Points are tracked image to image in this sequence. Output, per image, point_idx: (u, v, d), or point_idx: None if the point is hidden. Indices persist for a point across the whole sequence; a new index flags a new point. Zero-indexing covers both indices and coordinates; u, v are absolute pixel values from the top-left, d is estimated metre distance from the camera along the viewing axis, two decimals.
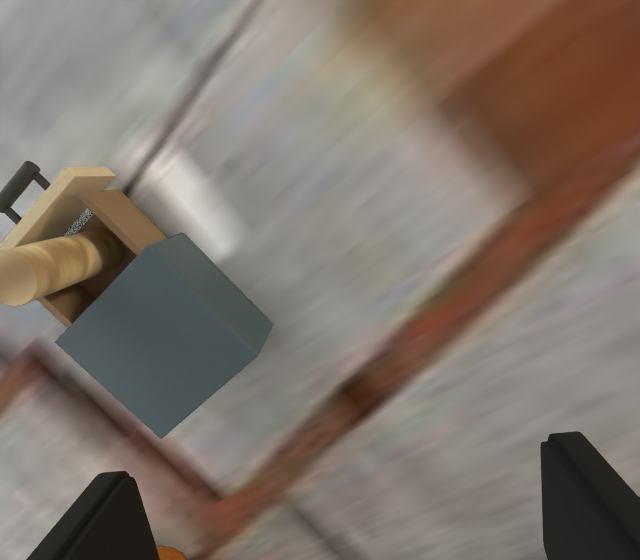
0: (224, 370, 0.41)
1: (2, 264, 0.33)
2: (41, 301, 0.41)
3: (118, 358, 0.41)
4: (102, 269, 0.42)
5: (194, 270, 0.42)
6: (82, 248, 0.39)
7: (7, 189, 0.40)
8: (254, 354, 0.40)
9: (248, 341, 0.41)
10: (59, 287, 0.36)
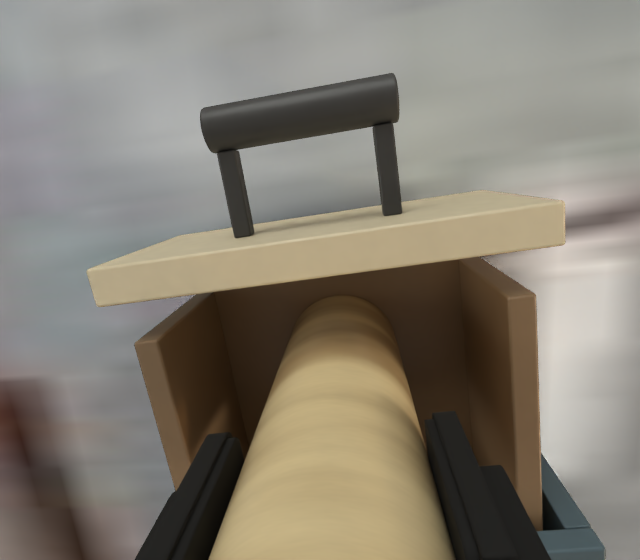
0: None
1: None
2: (170, 449, 0.14)
3: None
4: None
5: None
6: None
7: (284, 110, 0.12)
8: None
9: None
10: None
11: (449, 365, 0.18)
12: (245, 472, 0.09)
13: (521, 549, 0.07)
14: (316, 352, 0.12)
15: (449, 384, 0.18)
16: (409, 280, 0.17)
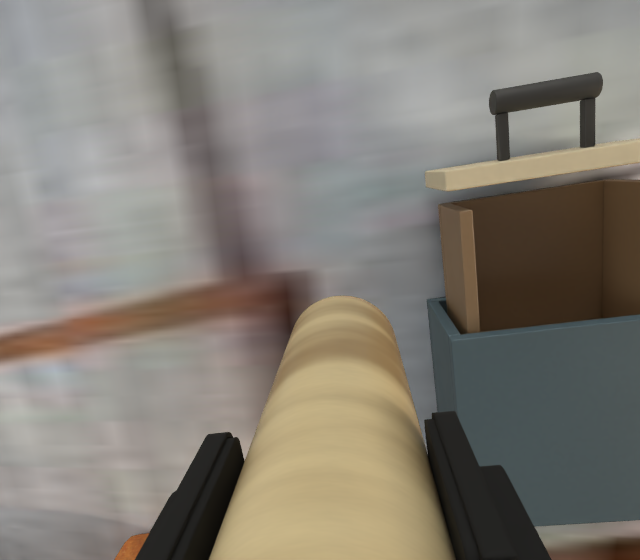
0: (633, 508, 0.28)
1: None
2: (467, 272, 0.26)
3: (516, 413, 0.26)
4: None
5: None
6: None
7: (542, 91, 0.24)
8: None
9: None
10: None
11: (592, 248, 0.30)
12: (245, 473, 0.08)
13: (521, 549, 0.07)
14: (315, 352, 0.12)
15: (591, 261, 0.30)
16: (572, 195, 0.29)
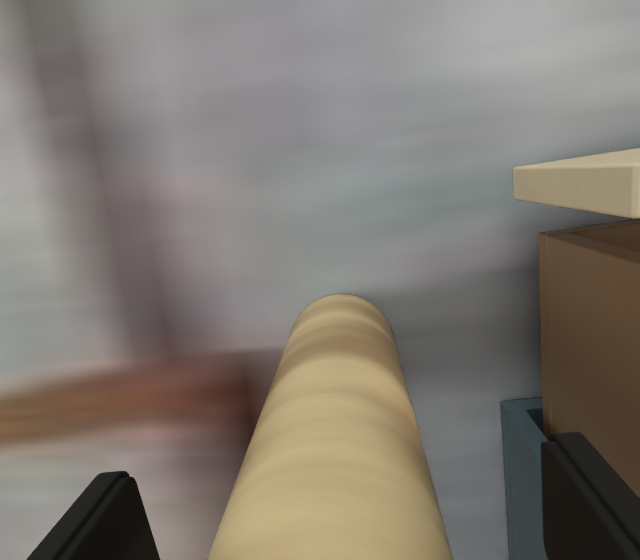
0: None
1: None
2: None
3: None
4: None
5: None
6: None
7: None
8: None
9: None
10: None
11: None
12: (246, 464, 0.09)
13: None
14: (315, 349, 0.13)
15: None
16: None
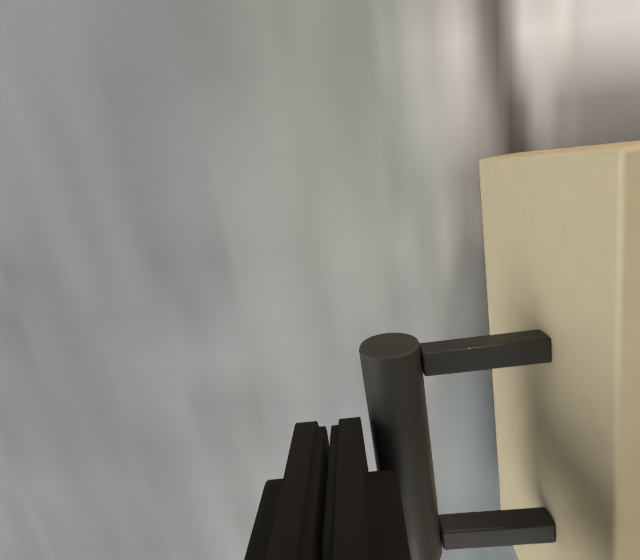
0: None
1: None
2: None
3: None
4: None
5: None
6: None
7: (404, 485, 0.10)
8: None
9: None
10: None
11: None
12: None
13: (387, 551, 0.07)
14: None
15: None
16: None
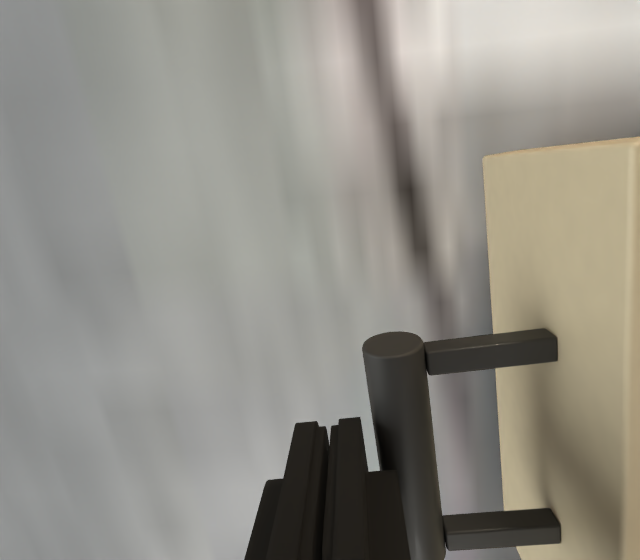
0: None
1: None
2: None
3: None
4: None
5: None
6: None
7: (407, 486, 0.10)
8: None
9: None
10: None
11: None
12: None
13: (387, 551, 0.07)
14: None
15: None
16: None
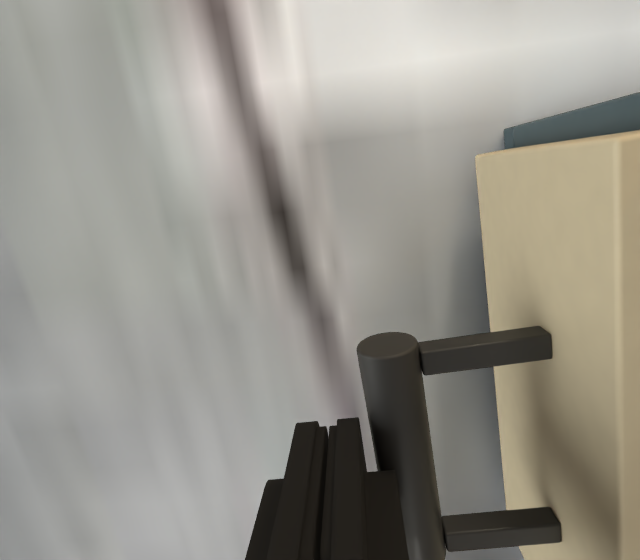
0: None
1: None
2: None
3: None
4: None
5: None
6: None
7: (405, 487, 0.10)
8: None
9: None
10: None
11: None
12: None
13: (385, 551, 0.07)
14: None
15: None
16: None
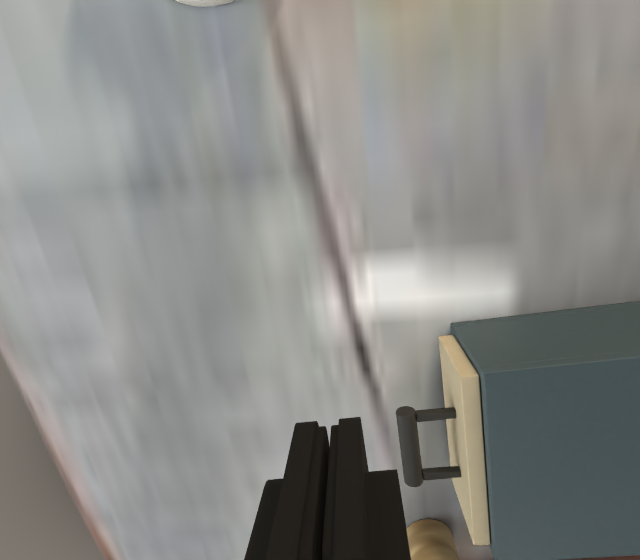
0: None
1: None
2: None
3: (579, 514, 0.27)
4: None
5: (532, 342, 0.28)
6: None
7: (410, 457, 0.30)
8: None
9: None
10: None
11: None
12: None
13: (387, 551, 0.07)
14: None
15: None
16: None
